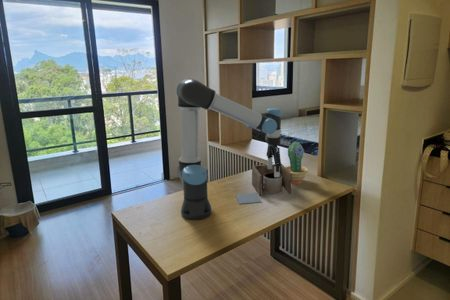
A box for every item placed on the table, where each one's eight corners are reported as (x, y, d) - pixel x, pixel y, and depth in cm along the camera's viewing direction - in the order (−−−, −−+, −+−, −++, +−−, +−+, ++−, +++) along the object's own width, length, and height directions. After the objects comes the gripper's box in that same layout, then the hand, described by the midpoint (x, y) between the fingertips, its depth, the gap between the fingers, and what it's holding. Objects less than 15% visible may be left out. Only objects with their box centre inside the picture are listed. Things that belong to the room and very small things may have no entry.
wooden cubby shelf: (259, 196, 175) (259, 175, 172) (252, 184, 192) (252, 165, 189) (291, 193, 178) (291, 173, 174) (281, 182, 195) (281, 163, 192)
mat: (239, 204, 166) (239, 203, 166) (235, 195, 177) (235, 194, 177) (261, 202, 167) (261, 201, 167) (256, 193, 179) (256, 192, 179)
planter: (280, 195, 175) (280, 179, 173) (261, 193, 179) (261, 177, 176) (283, 188, 185) (283, 173, 183) (264, 186, 189) (265, 171, 186)
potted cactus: (279, 184, 192) (281, 144, 185) (284, 175, 206) (285, 138, 199) (305, 187, 186) (308, 146, 180) (308, 178, 200) (311, 140, 193)
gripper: (287, 141, 162) (286, 180, 168) (273, 131, 186) (273, 165, 192) (273, 142, 161) (273, 181, 167) (261, 132, 185) (261, 166, 191)
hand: (273, 172), depth 179 cm, fingers open, 13 cm apart
